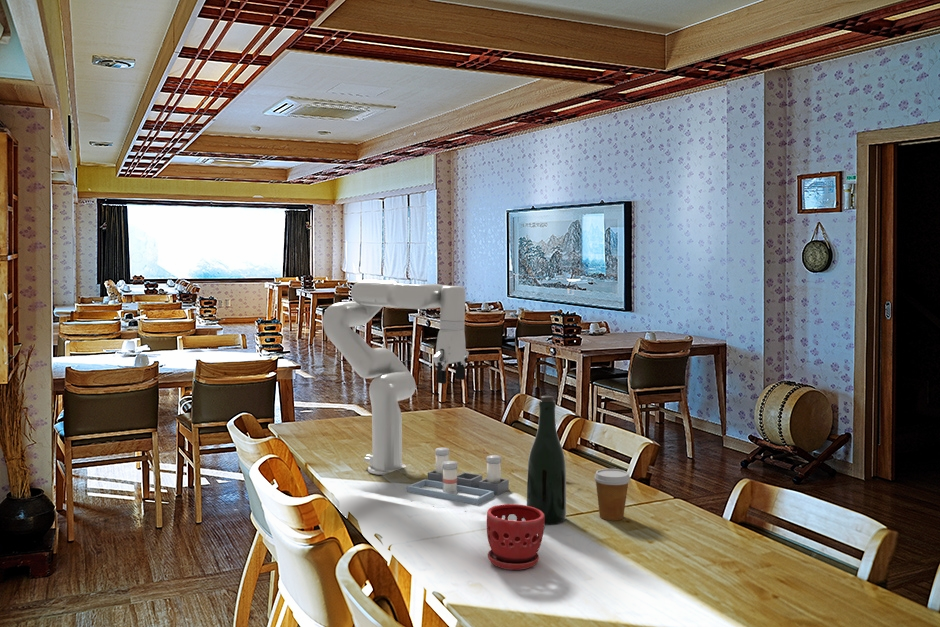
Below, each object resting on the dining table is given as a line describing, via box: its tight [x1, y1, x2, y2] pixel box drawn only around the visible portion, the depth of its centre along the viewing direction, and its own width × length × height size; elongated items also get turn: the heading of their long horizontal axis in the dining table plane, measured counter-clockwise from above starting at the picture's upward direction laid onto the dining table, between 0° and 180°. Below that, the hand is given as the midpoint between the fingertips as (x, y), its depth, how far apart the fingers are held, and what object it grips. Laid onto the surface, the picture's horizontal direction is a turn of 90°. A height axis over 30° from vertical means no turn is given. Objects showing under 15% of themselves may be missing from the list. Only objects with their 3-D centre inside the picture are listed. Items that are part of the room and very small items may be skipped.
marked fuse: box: [442, 460, 458, 495], centre depth 234 cm, size 4×4×10 cm
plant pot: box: [486, 503, 545, 571], centre depth 185 cm, size 13×13×12 cm
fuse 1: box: [434, 447, 450, 475], centre depth 247 cm, size 4×4×10 cm
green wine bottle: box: [526, 395, 567, 525], centre depth 215 cm, size 10×10×33 cm
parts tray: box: [406, 478, 495, 506], centre depth 234 cm, size 24×9×3 cm, turn 58°
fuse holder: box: [427, 469, 511, 497], centre depth 242 cm, size 25×8×4 cm, turn 58°
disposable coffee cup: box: [593, 468, 631, 521], centre depth 218 cm, size 10×10×12 cm
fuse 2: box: [486, 454, 502, 484], centre depth 237 cm, size 4×4×10 cm
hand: (450, 381), depth 252 cm, fingers open, 9 cm apart
